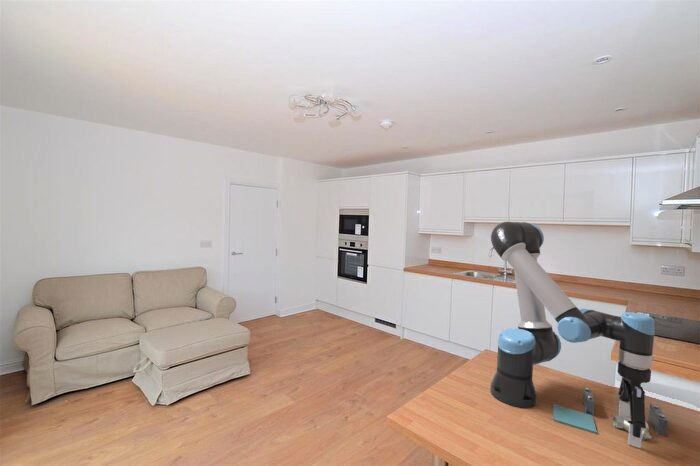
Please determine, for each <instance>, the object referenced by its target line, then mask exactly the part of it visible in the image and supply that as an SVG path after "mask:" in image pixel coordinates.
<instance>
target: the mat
mask: <svg viewBox="0 0 700 466" xmlns="http://www.w3.org/2000/svg"><path fill="white" fill-rule="evenodd" d="M552 413H553V421H554V422H556V423H559V424H562V425H567V426H569V427H572V428H575V429H579V430H582V431H586V432H589V433H592V434H595V435H597V433H598V431H597V429H596V425H595V420H594V417H593V416H592V415H589V414H586V412H581V411H578V410H575V409H570V408H568V407H565V406H564V407H563V406H561V405H557V404H552Z"/></svg>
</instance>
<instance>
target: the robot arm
mask: <svg viewBox="0 0 700 466" xmlns="http://www.w3.org/2000/svg"><path fill="white" fill-rule="evenodd" d="M544 238H545V237H544V233H543V232H542V229H541V228H540V227H538V226H537V225H536V224H534V223H531V222H525V221H521V222H520V221H504V222H501V223H498V224H497V225H496V226H495V227H494V228H493V229H492V232H491V235H490V241H491V245H492V247H493V249H494V250H495V252H496V253H497V255H498V256H499V258H500V259H501V260H502V261H506V262H508V264H509V265H510V266H511V267H512V269H513V271H514V278H515V280H514V281H515V287H516V294H517V298H518V306H519V315H520V320H521V321H520V322H519V323H518V324H517V328H506V329H504V330H503V329H502V331H500V332H499V336H498V341H497V345H498V346H497V356H496V357H497V360H496V370H495V373H494V376H493V377H492V380H491V383H490V384H489V385H490V386H489V387H490V388H489V392H490V394H491V395H492V396H493V398H495V399H497V400H498V401H500V402H502V403H504V404H507V405H509V406H513V407H516V408H532V407H534V406H536V405H537V400H538V396H537V391H536V388H535V384H534V381H533V374H534V366H535V365H539V364H542V363H545V362H546V363H547V362H551V361H552V360H553V359H555V358H557V357H558V355H559V354H560V353H561V350H562V342H561V340H560V337H561V338H562V339H563V340H565V341H567V342H569V343H573V344H574V343H575V344H577V343H582V342H587V341H589V340H592V339H596V338H599V337H603V338H606V339H610V340H614V341H619V346H618V355H617V356H618V358H617V359H618V362H617V370H616V371H617V374H618V375H619V376H620V377H621V381H620V385H619V389H618V392H617V393H618V396H619V404H618V405H619V406H618V416H621V417H625V418H630V419H631V421H628V423H629V424H630V425H629V432H628V436H627V437H628V438H627V444H628V445H629V446H632V447H634V448H638V449H642V442H643V441H642V429H643V428H646V425H645V422H646V406H645V403H646V402H645V398H646V397H645V394H646V391H645V390H644V387H643V386H642V384H644V383H645V384H647V383H650V382H651V378H652V377H651V376H652V369H651V368H652V361H653V362H654V361H655V357H653V352H654V351H653V350H654V343H655V342H654V341H655V335H656V332H655V327H656V326H655V324H656V323H655V320H654V318H653V317H652V316H650V315H647V314H644V313H639V312H633V311H624V312H622V313H621V316H617V315H613V314H610V313H605V312H600V311H598V310H595V309H587V308H580V309H579V308H578V307H577V306H576V304H575V303H574V302H573V301H572V300H571V299H570V297H569V296H568V295H567V294H566V293H565V292H564V290H562V288H561V287H560V286H559V285H558V284H557V283H556V282H555V280H554V279H553V278H552V277H551V276H550V275H549V274H548V273H547V271H546V270H545V269H544V268H543V267H542V266H541V265H540V263H538V258H539V257H540V256H541V248H542V245H543V244H544ZM546 310H547V311H548V312H549V314H550V315H551V316H552V318H553V319H554V320H555V321H556V323H557V326H556V329H557V331H558V332H557V333H558V334H559V335H558V334H556V332H555V331H553V329H554V328H553V325H552V324H551V323H549V321H547V316H546ZM559 336H560V337H559Z"/></svg>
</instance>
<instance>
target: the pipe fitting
mask: <svg viewBox="0 0 700 466" xmlns="http://www.w3.org/2000/svg"><path fill="white" fill-rule="evenodd" d="M611 421H612V422H611V423H612V425H613V427H614V428H618V429H622V430H625V431H627V432H628V433H629V425H630V424H629V423H628V421H631V417H630V418H625V417H621V416H619V415H615V414H613V415H612V416H611ZM645 425H646V428H643V429H642V440H643V441H645V440H646V439H647V440H649V439H650V440H652V435H651V434H650V433H649V432H650V427H649V424H648V422H647V421H645Z"/></svg>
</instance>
